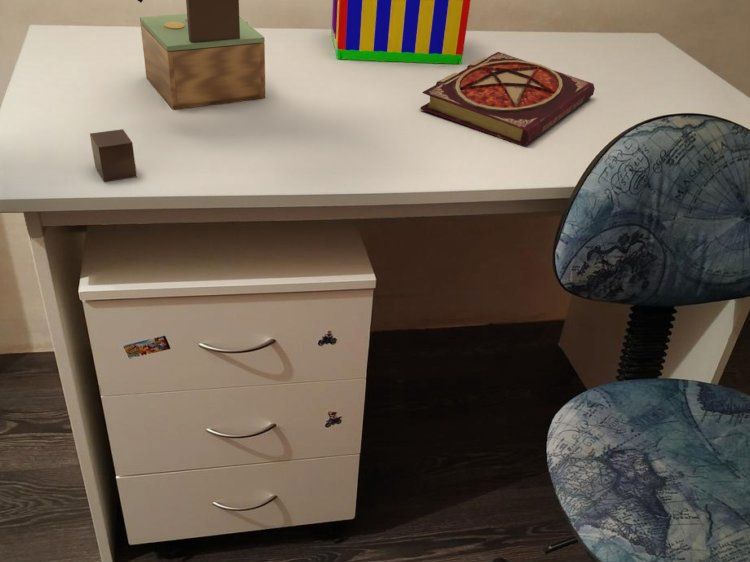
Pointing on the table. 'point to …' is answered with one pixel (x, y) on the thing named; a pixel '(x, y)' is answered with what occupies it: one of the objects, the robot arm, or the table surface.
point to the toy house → (400, 30)
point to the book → (507, 97)
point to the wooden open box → (205, 73)
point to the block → (113, 155)
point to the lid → (202, 26)
